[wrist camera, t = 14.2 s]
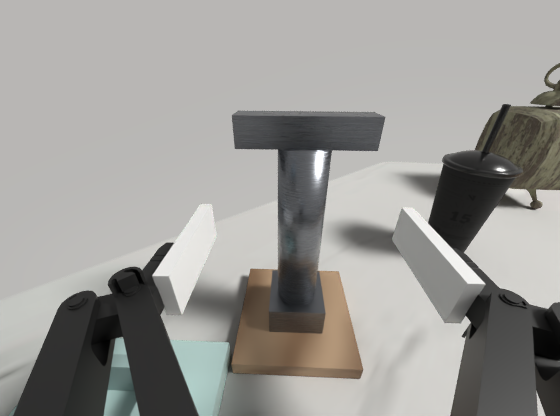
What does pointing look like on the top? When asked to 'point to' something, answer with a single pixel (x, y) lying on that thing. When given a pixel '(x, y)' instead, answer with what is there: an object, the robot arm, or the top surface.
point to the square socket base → (195, 367)
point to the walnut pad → (296, 335)
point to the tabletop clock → (531, 141)
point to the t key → (302, 198)
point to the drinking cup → (471, 189)
